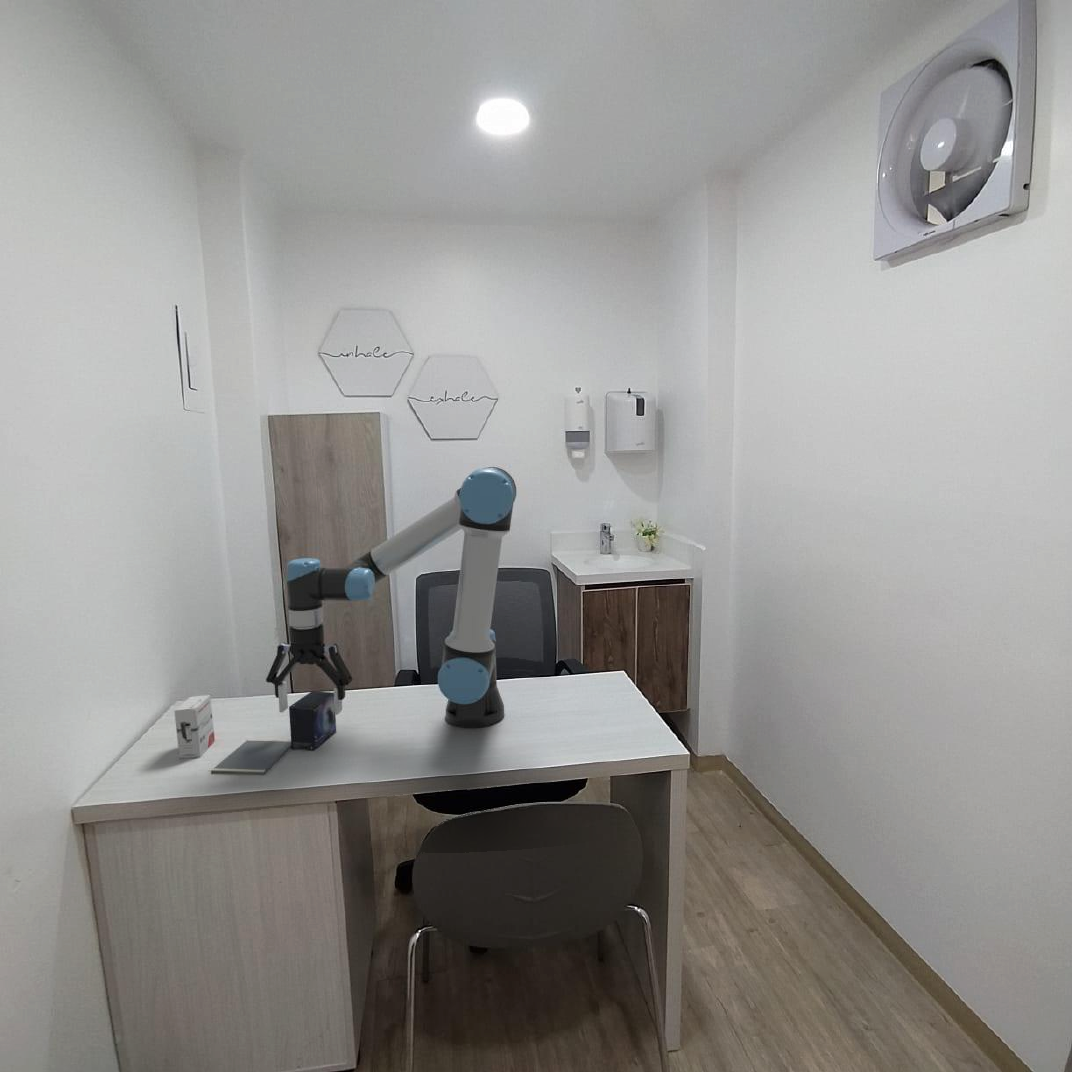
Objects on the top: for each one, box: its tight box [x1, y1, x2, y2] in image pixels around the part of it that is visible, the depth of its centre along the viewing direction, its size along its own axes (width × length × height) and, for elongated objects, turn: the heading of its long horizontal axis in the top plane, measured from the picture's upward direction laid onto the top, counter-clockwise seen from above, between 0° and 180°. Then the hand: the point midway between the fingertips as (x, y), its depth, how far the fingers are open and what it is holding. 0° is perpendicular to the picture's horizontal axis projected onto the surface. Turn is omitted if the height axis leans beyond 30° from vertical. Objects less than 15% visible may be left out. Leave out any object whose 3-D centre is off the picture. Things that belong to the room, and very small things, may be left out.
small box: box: [288, 690, 337, 752], centre depth 153 cm, size 11×6×10 cm, turn 168°
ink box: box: [173, 694, 216, 759], centre depth 150 cm, size 9×5×12 cm, turn 5°
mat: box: [210, 738, 291, 776], centre depth 146 cm, size 12×15×1 cm
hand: (311, 711), depth 153 cm, fingers open, 13 cm apart
